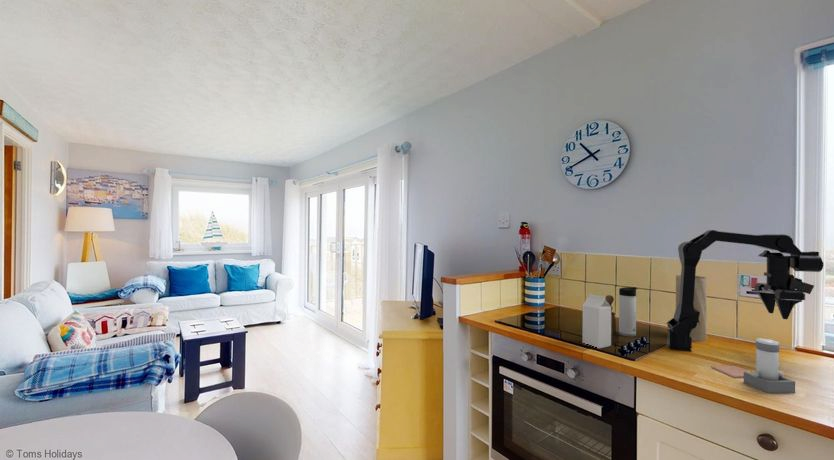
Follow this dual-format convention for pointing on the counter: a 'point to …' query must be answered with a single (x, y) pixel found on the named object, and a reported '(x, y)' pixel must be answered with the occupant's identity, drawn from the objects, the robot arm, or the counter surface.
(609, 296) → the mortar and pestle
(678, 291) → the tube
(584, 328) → the milk carton
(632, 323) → the travel mug
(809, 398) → the counter surface
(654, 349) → the counter surface
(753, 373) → the cartridge housing
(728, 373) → the mat
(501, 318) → the counter surface
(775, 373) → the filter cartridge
